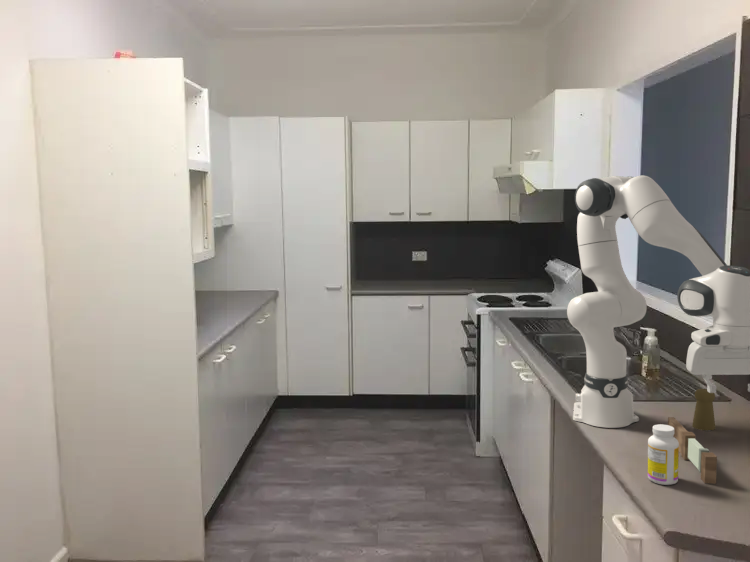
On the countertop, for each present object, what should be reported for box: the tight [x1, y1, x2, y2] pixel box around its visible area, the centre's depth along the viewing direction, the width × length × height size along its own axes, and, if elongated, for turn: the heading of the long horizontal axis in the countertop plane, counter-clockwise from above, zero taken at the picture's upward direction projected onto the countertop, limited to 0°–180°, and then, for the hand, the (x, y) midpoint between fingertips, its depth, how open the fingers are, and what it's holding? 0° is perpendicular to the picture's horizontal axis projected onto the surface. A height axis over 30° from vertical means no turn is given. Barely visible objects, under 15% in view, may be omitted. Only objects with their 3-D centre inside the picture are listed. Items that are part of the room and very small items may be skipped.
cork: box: [691, 388, 716, 432], centre depth 189 cm, size 6×6×11 cm
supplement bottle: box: [647, 423, 680, 486], centre depth 156 cm, size 7×7×13 cm
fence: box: [667, 416, 718, 485], centre depth 167 cm, size 28×2×6 cm, turn 173°
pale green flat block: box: [688, 438, 710, 474], centre depth 161 cm, size 9×2×6 cm, turn 173°
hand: (732, 392), depth 158 cm, fingers open, 8 cm apart
